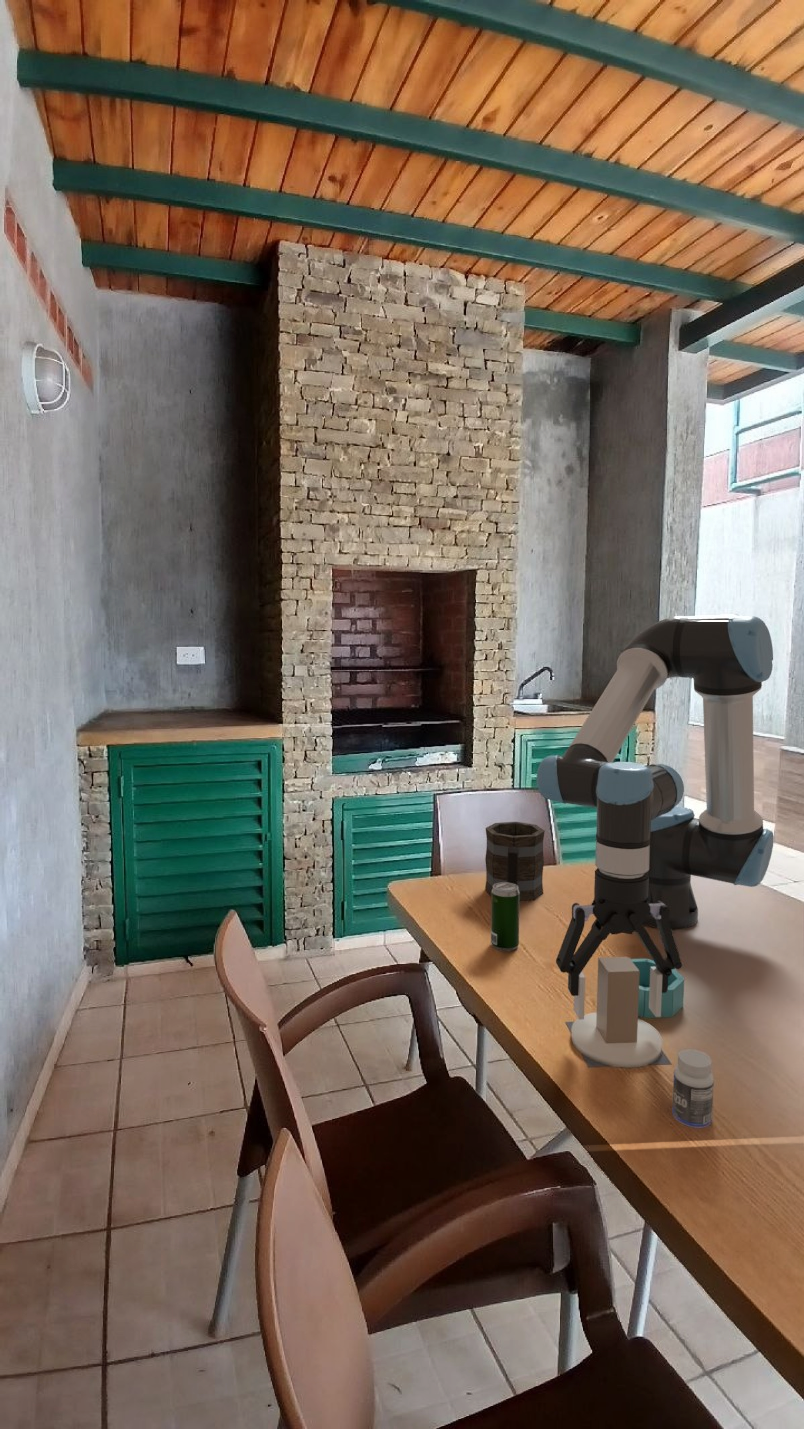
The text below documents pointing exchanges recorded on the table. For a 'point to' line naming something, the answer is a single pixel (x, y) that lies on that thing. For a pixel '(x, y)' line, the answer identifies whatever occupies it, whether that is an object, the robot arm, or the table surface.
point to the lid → (617, 1020)
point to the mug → (515, 858)
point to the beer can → (505, 916)
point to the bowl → (670, 999)
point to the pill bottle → (693, 1089)
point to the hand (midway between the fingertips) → (616, 1013)
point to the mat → (591, 1063)
